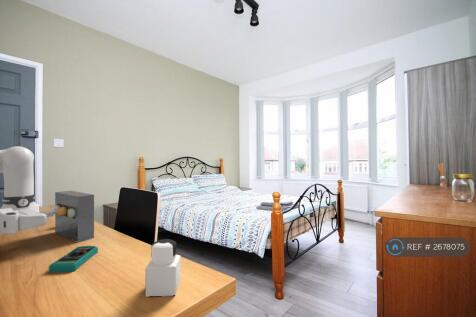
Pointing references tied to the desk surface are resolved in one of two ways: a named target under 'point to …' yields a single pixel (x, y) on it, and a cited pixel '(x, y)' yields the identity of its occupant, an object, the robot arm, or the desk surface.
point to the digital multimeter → (73, 259)
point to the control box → (84, 215)
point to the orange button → (62, 211)
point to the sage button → (71, 213)
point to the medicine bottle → (163, 269)
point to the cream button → (55, 208)
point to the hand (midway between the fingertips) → (52, 213)
